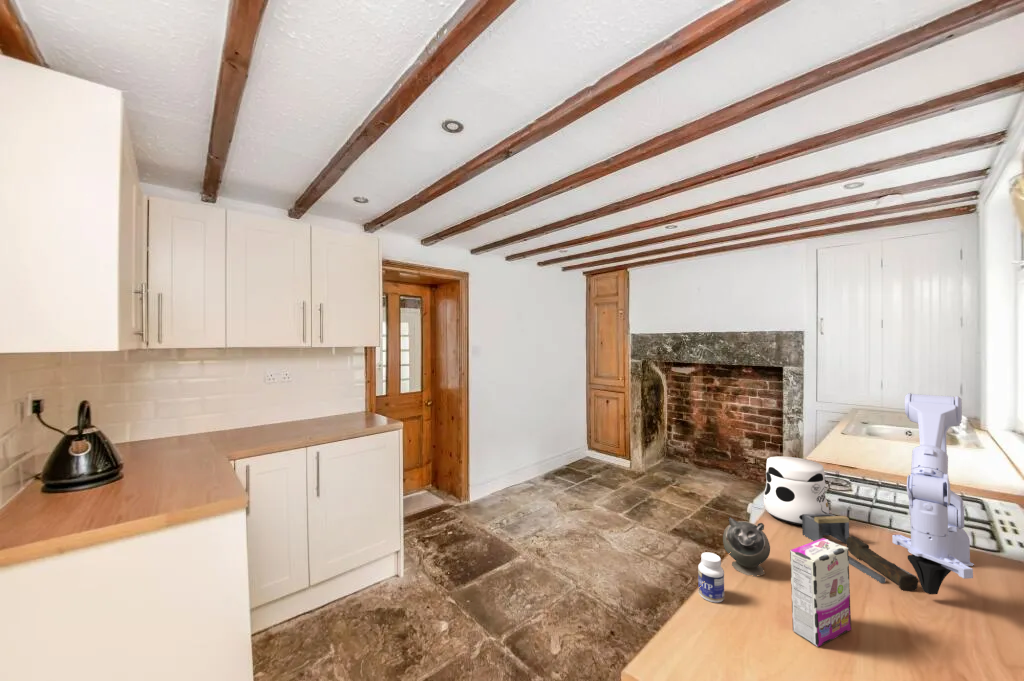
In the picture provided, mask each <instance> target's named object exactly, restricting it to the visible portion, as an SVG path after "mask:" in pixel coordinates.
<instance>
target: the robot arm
mask: <svg viewBox="0 0 1024 681" xmlns="http://www.w3.org/2000/svg"><path fill="white" fill-rule="evenodd" d="M962 400H963V399H962V398H961V397H959V395H955V396H951V395H950V396H949V395H937V394H923V393H922V394H920V393H912V392H908V393H907V394H906V395H905V396H904V413H905V414H904V415H905V416H906V417H907V419H908V420H909V421H910V422H913V423H916V424H918V434H919V435H918V436H919V438H918V439H919V446H916V447H914V448H913V449H912V453H911V464H910V465H911V469H910V474H908V475H907V478H906V493H907V498H908V511H909V512H908V513H909V516H910V537H906V536H904V535H902V534H892V535H891V536H892V544H894V545H896V546H901V547H903V548H905V549H907V552H908V553H910V554H909V555H907V560H908V561H909V563H910V564H911V566H912V568H913V569H914V571H915V573H916V575H917V576H916V577H917V578H918V582H919V583H920V587H921V589H922V591H923V592H924V593H926V594H928V595H938V593H939V590H940V588H941V586H942V583H943V581H944V579H946V577H947V576H948V575H949V574H950V573H951V572H953V573H955V574H957V575H958V577H960V578H962V579H974V568H972V567H974V566H975V564H974V563H973V562H971V554H970V553H971V548H970V546H971V545H970V543H971V542H970V537H969V535H968V533H967V532H966V530H965V529H964V528H965V506H964V499H962V497H961V495H959V494H957V493H955V492H954V491H952V489H951V482H950V479H949V471H948V470H949V455H948V453H947V451H948V449H947V432H948V430H950V428H951V427H952V428H953V427H959V426H960V425H961V424H962V420H963V410H962V409H963V406H962V404H963V402H962ZM973 565H974V566H973Z"/></svg>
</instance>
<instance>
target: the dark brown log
mask: <svg viewBox="0 0 1024 681" xmlns="http://www.w3.org/2000/svg"><path fill="white" fill-rule="evenodd" d="M846 543H847V545H846V547H847V548H848V552H850V554H851V555H852V556H853V557H855V559H857V560H858V559H859V561H862V560H863V562H865V563H867V564H868V565H869V566H870V567H871V568H874V569H875V570H877V571H878V572H879V573H881V574H882V576H885V578H887V579H889V580H890V581H892V582H893V583H894V584H896V585H898V588H899V589H900V590H901V591H902V590H903V592H915V591H916V590H917V589H918V584H919V578H918V576H916V575H915V576H916V577H915V576H914V574H913V575H912V573H911V574H908V573H906V572H905V571H906V570H905V571H903V570H902V569H903V568H902V569H900V568H901V567H900V566H898V565H896V563H893V562H891V561H889V560H887V559H886V558H884V557H883V556H881V555H879V554H878V553H877V552H875V551H874V550H872V549H871V548H870V545H868V544H867V543H865V542H864V541H863V540H861V539H860V538H858V537H855V536H853V535H850V536H849V537H848V539H847V541H846ZM897 566H898V567H897ZM899 567H900V568H899Z"/></svg>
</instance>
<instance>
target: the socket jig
mask: <svg viewBox="0 0 1024 681" xmlns="http://www.w3.org/2000/svg"><path fill="white" fill-rule="evenodd" d="M801 527H802V536H804V535H805V536H804V537H805V538H807V537H808V538H807V539H809V540H810V539H811V541H812V540H813V541H816V540H819V539H822V538H824V535H825V536H830V537H832V538H834V539H836V540H838V541H839V540H840V541H839V542H841V543H843V544H845V545H846V544H847V543H846V541H847V539H848V537H850V518H849V517H847V516H846V515H835V514H833V513H831V512H829V513H828V514H802V525H801ZM813 541H812V542H813ZM848 556H849V565H851V566H853V567H854V568H856V569H857V570H859V571H860V572H862V573H863V574H865V573H866V575H867V576H868V575H869V576H868V577H870V576H871V578H872V579H873V578H874V579H873V580H875V579H876V580H877V581H876V580H875V581H876V582H878V581H879V582H878V583H880V584H886V582H887V581H886V578H887V577H886V576H885V577H884V575H883V574H882V575H881V574H880V573H878V572H876V571H875V570H873V569H871V568H870V567H868V566H867V565H865V564H863V563H862V562H860V561H858V559H857V560H856V558H854V557H851V556H850V555H848ZM896 566H897V567H899V568H900V569H902V570H903V571H905V572H906V573H908V574H912V573H911V572H909V571H907V570H906V569H904V568H901V567H900V566H898V565H896ZM912 575H914V574H912ZM914 576H915V577H917V576H916V575H914Z"/></svg>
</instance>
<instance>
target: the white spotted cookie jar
mask: <svg viewBox="0 0 1024 681" xmlns="http://www.w3.org/2000/svg"><path fill="white" fill-rule="evenodd" d="M765 466H766V467H765V469H766V471H765V478H766V481H765V482H766V483H765V489H764V492H763V496H762V497H763V500H762V501H763V506H764V508H765V511H766V512H767V513H768V514H769V515H770V516H772V517H774V518H775V519H777V520H779V521H782V522H786V523H789V524H792V525H798V526H802V514H828V513H830V507H829V503H828V500H827V497H826V480H825V478H826V474H825V468H824V465H823V464H822V463H819V462H816V461H813V460H810V459H806V458H800V457H796V456H795V457H794V456H793V457H792V456H783V455H781V456H778V455H776V456H769V457H768V458H767V459H766V464H765Z"/></svg>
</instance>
